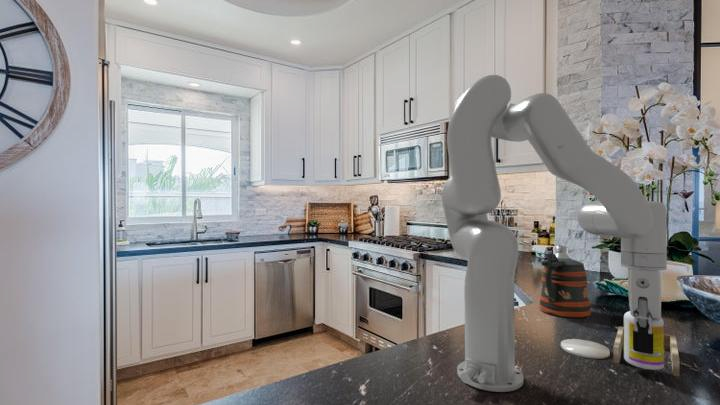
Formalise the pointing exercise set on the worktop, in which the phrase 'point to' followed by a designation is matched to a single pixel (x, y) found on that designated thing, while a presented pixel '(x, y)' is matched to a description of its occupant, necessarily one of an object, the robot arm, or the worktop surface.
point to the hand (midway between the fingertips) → (643, 345)
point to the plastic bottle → (561, 251)
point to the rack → (668, 345)
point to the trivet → (585, 348)
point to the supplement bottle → (639, 358)
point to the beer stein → (564, 288)
